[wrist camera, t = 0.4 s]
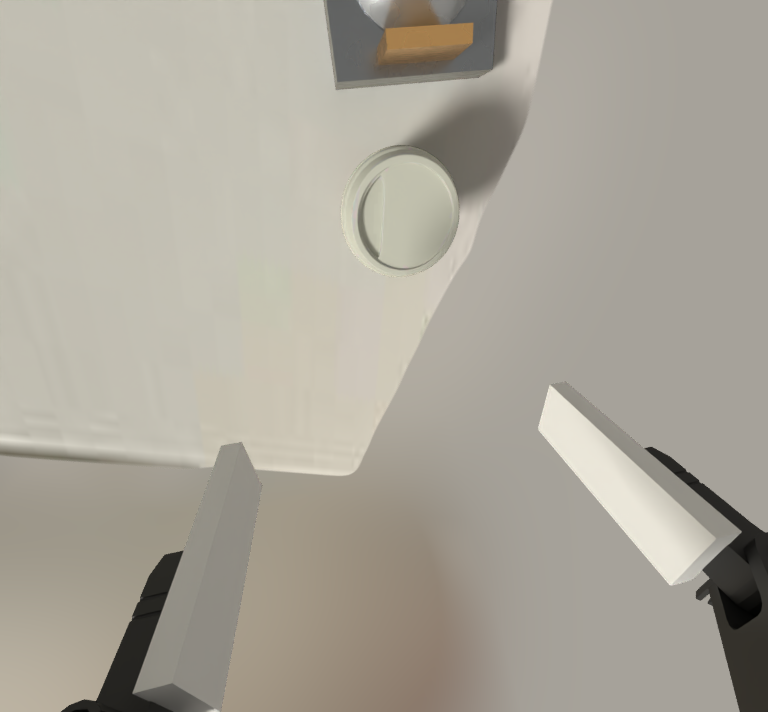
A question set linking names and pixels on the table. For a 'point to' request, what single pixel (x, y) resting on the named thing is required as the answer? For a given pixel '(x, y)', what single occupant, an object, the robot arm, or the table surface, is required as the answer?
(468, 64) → the block
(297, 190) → the table surface
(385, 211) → the coffee cup
